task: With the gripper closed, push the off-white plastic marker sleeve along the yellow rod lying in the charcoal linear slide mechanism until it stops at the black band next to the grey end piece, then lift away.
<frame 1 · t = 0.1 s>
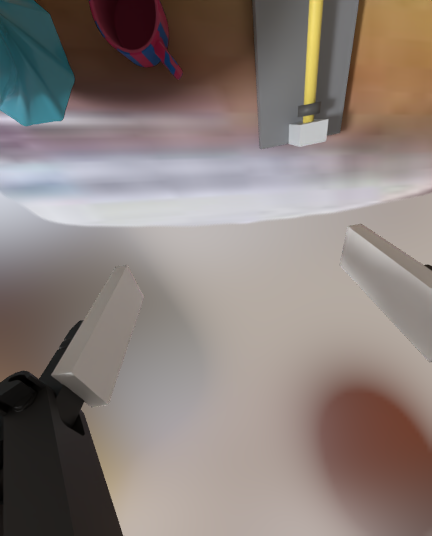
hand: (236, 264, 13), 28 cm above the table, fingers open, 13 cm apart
mug: (152, 46, 27), on the table
vase: (11, 57, 27), on the table
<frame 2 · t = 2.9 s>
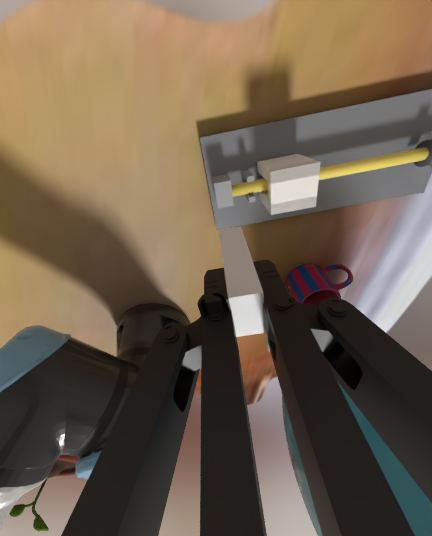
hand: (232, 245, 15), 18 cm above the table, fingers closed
linear slide mechanism: (317, 165, 28), on the table
mug: (311, 272, 39), on the table
vase: (295, 333, 50), on the table
sleeve: (284, 183, 25), point 5 cm above the table, slide at 0.0 cm
potted plant: (81, 397, 62), on the table
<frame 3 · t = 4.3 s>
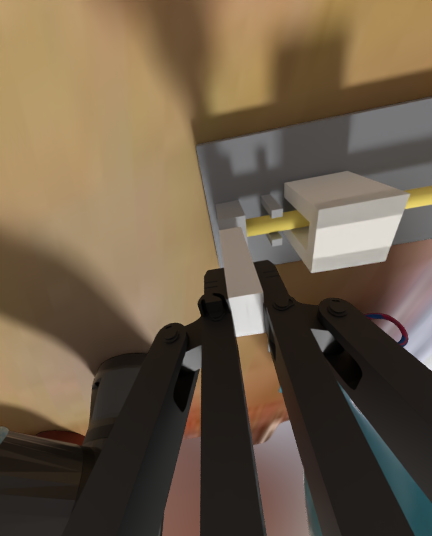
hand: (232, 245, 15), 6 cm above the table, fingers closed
linear slide mechanism: (370, 186, 19), on the table
mug: (342, 318, 30), on the table
vase: (315, 380, 41), on the table
sleeve: (330, 218, 16), point 5 cm above the table, slide at 0.0 cm
potted plant: (60, 441, 54), on the table
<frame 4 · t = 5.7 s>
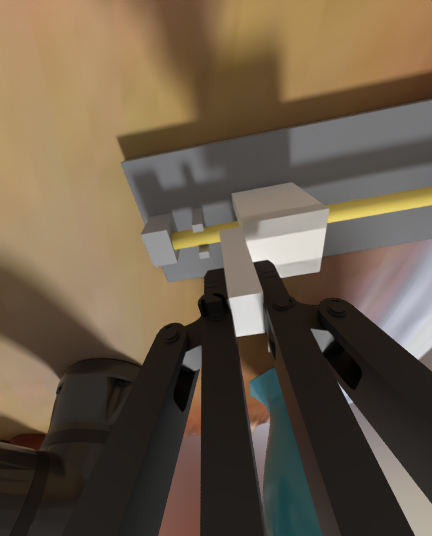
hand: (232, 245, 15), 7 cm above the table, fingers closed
linear slide mechanism: (305, 198, 20), on the table
vase: (284, 384, 41), on the table
sleeve: (271, 229, 16), point 5 cm above the table, slide at 1.5 cm, touching gripper
potted plant: (38, 444, 54), on the table
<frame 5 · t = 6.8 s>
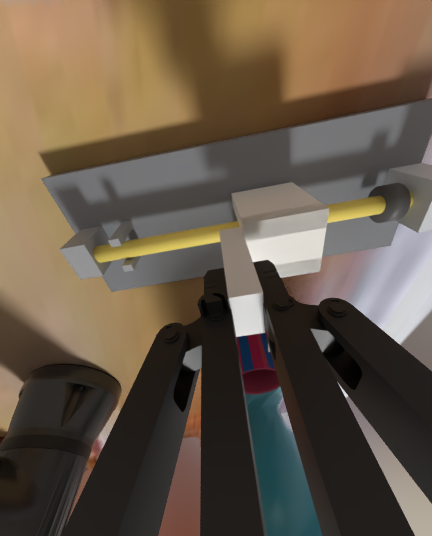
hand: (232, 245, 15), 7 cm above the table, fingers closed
linear slide mechanism: (237, 210, 20), on the table
mug: (257, 330, 31), on the table
vase: (252, 388, 42), on the table
sleeve: (271, 229, 16), point 5 cm above the table, slide at 8.0 cm, touching gripper
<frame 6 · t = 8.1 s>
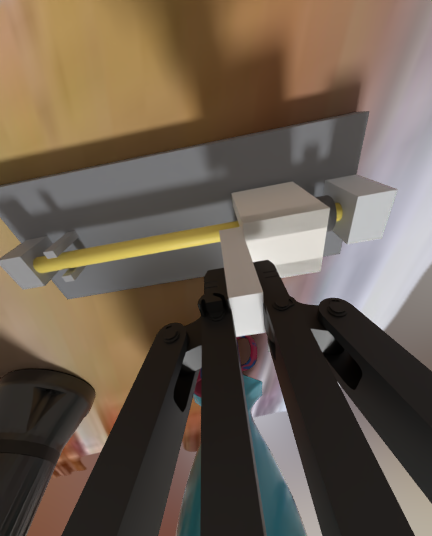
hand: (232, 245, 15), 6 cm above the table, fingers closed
linear slide mechanism: (184, 220, 20), on the table
mug: (223, 335, 31), on the table
vase: (227, 391, 42), on the table
sleeve: (272, 228, 16), point 5 cm above the table, slide at 13.2 cm, touching gripper
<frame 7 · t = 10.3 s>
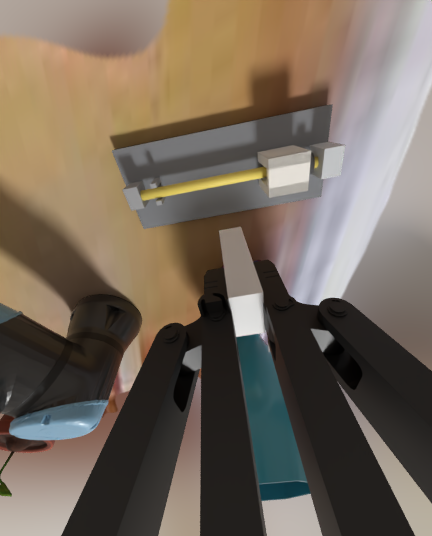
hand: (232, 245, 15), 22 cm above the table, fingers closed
linear slide mechanism: (224, 173, 33), on the table
vase: (241, 324, 54), on the table
sleeve: (281, 170, 28), point 5 cm above the table, slide at 13.5 cm
potted plant: (53, 383, 68), on the table
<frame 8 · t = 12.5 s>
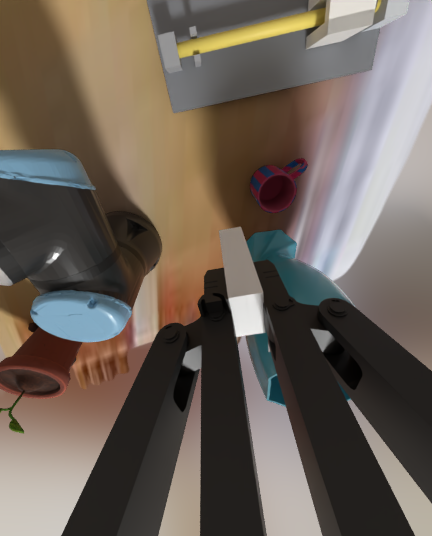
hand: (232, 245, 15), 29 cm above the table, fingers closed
linear slide mechanism: (266, 38, 29), on the table
mug: (274, 177, 40), on the table
vase: (266, 256, 51), on the table
sleeve: (338, 10, 25), point 5 cm above the table, slide at 13.5 cm
potted plant: (63, 333, 64), on the table
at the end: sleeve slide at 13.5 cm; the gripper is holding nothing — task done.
